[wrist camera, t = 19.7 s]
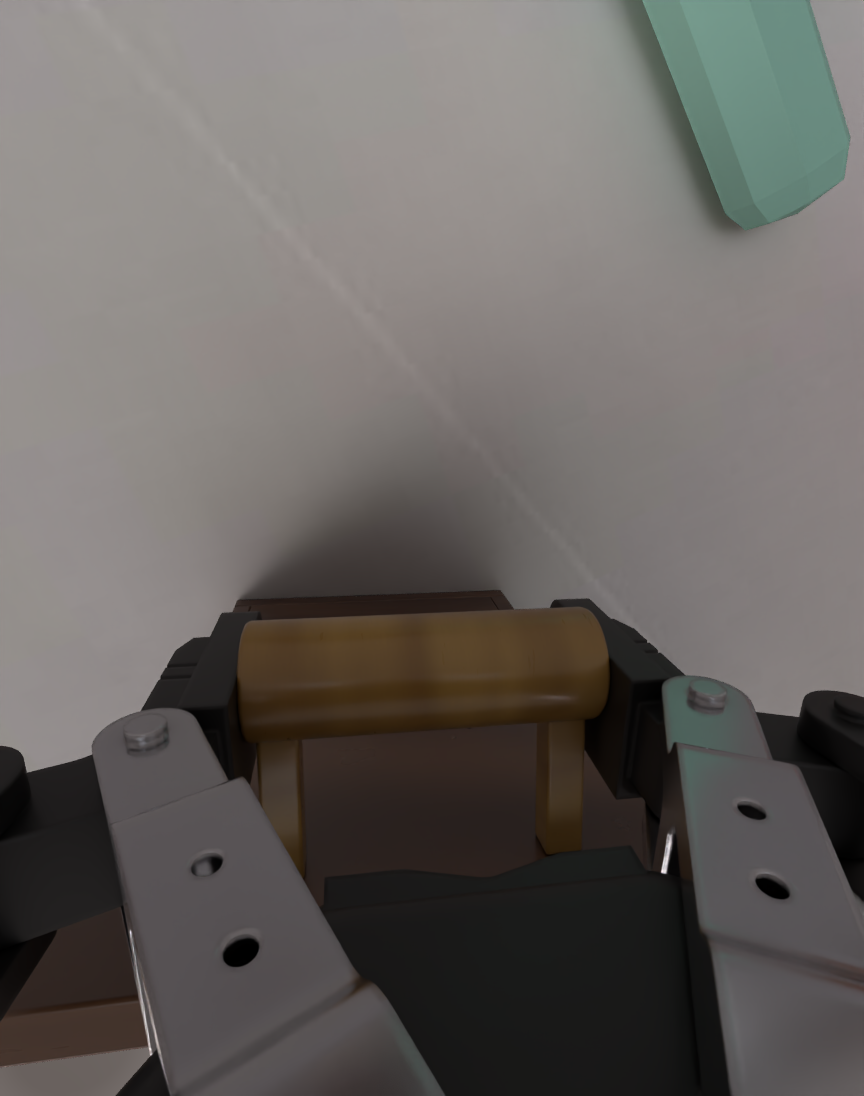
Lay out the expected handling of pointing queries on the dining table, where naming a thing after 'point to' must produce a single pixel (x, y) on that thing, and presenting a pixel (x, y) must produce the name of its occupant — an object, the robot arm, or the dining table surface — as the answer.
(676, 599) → the dining table surface
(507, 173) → the dining table surface
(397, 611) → the chest
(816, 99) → the container
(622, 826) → the lid
